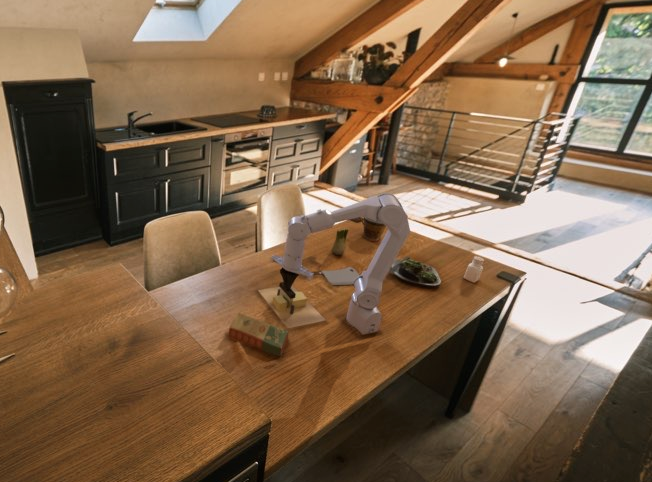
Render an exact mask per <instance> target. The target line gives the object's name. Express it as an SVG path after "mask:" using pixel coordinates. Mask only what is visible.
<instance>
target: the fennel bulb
mask: <svg viewBox="0 0 652 482" xmlns="http://www.w3.org/2000/svg"><path fill="white" fill-rule="evenodd" d="M348 233H349V228H341V229H337V230H336V236H335V240H334V242H333V245H332V247H331V250H330V251H331V253H332V254H333V255H334V256H343V255H344V253H345V252H346V251H345V250H346V245H347V244H346V243H347V236H348Z"/></svg>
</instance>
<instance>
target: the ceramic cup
mask: <svg viewBox="0 0 652 482" xmlns="http://www.w3.org/2000/svg"><path fill="white" fill-rule="evenodd" d="M362 218H363V219H362ZM359 220H360V222H361V223H362V225H363V233H362V234H363V238H364V239H366V240H367V241H371V242H377V241H379V240H380V239H381V237H382V235H383V233H384V231H385V230H386V228H387V226H386V225H384V224H383V223H382V222H381V221H380V220H379V217H376V221H374V220H371V219H369V218H367V217H364V216H363V217H359Z"/></svg>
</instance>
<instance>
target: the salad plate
mask: <svg viewBox="0 0 652 482" xmlns="http://www.w3.org/2000/svg"><path fill="white" fill-rule="evenodd" d="M388 273H389V274H392V275H393V276H395V278H396V279H397V280H398V281H400V282H402V283H405V284H406V285H412V286H415V287H419V288H426V289H435V288H437V287H439V286H441V284H442V280H441V277H440V275H439V273H438V271H437V269H435V268H434V267H432V266H431V265H429V264H426V263H421V262H420V261H417V260H414V259H413V258H411V257H410V256H407V255H406V256H405V257H403V258H402V259H400V258H396V259H395V261H394V262H393V264H392V266H391V268H390V269H389V271H388Z"/></svg>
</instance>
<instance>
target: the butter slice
mask: <svg viewBox="0 0 652 482" xmlns="http://www.w3.org/2000/svg"><path fill="white" fill-rule="evenodd" d="M272 304H273V305H274V306H275V307H276V309H277V310H278V311H281V310H286V308H287V301H286V300H285V299H284V298H283V297H282V295H279V296H273V303H272Z"/></svg>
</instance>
